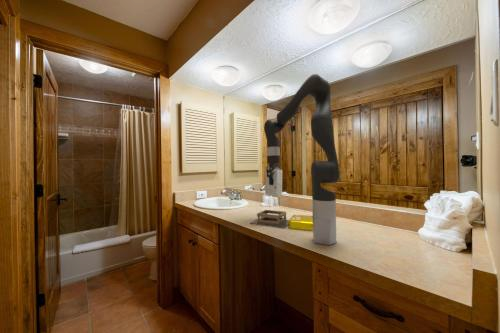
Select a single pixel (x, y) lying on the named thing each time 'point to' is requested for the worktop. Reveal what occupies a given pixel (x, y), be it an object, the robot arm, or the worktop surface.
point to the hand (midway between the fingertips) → (273, 184)
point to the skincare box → (274, 184)
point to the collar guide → (271, 219)
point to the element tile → (301, 222)
